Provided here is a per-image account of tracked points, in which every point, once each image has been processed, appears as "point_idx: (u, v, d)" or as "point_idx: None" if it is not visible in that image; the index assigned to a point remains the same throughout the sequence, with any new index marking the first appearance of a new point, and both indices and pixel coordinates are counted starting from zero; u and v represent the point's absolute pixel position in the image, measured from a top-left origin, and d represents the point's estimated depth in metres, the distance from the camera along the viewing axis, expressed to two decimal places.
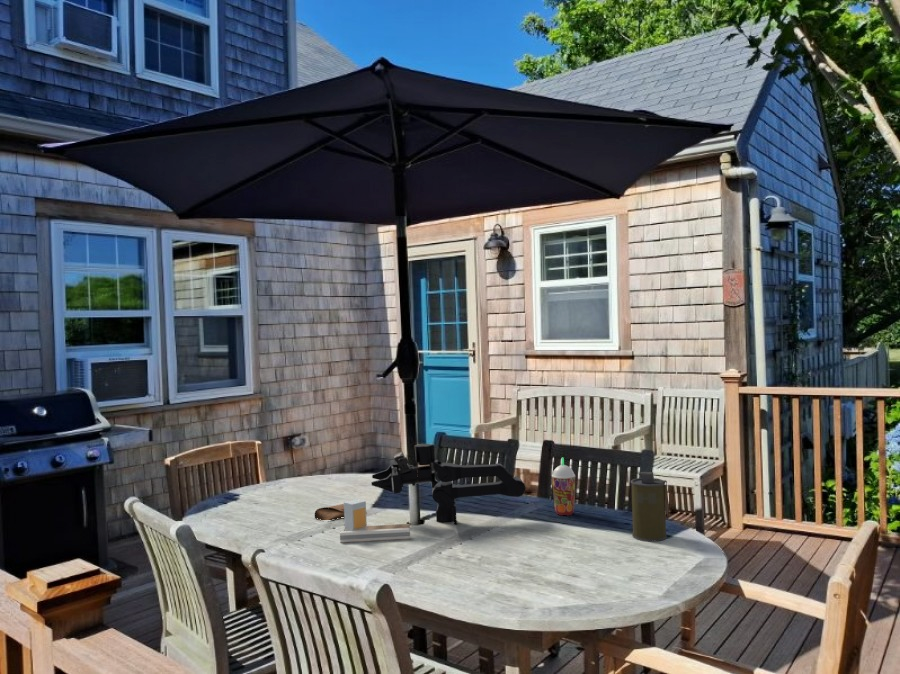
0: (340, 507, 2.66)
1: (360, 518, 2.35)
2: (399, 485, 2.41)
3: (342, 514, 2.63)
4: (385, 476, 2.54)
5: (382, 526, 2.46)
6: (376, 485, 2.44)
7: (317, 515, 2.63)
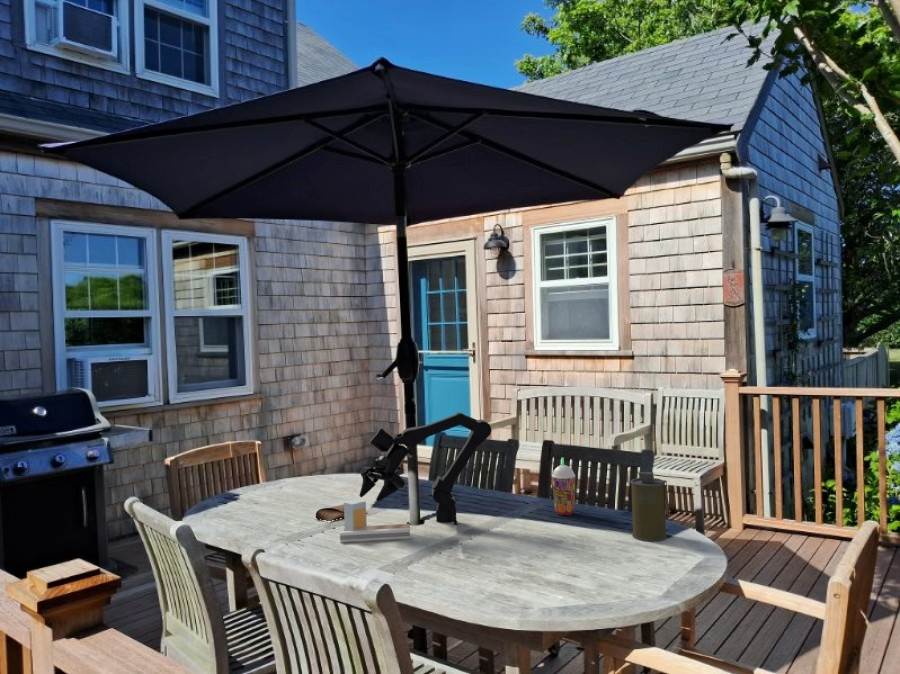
0: (341, 507, 2.65)
1: (360, 518, 2.35)
2: (401, 479, 2.38)
3: None
4: (368, 486, 2.47)
5: (382, 526, 2.46)
6: (382, 498, 2.38)
7: (318, 516, 2.62)
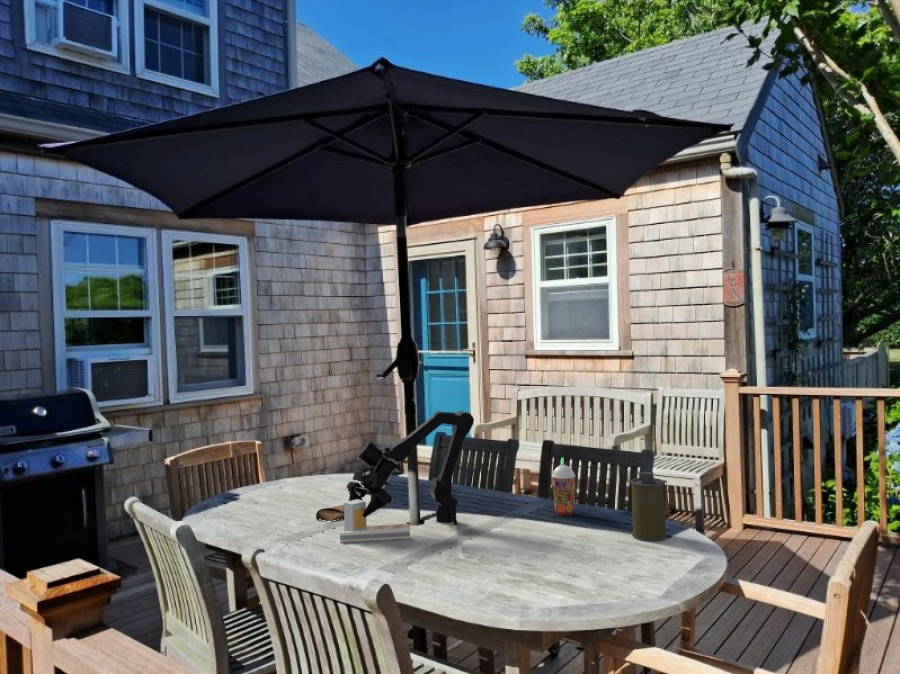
0: (341, 508, 2.65)
1: (360, 518, 2.35)
2: (388, 495, 2.35)
3: None
4: None
5: (382, 526, 2.46)
6: (368, 513, 2.34)
7: (318, 516, 2.61)
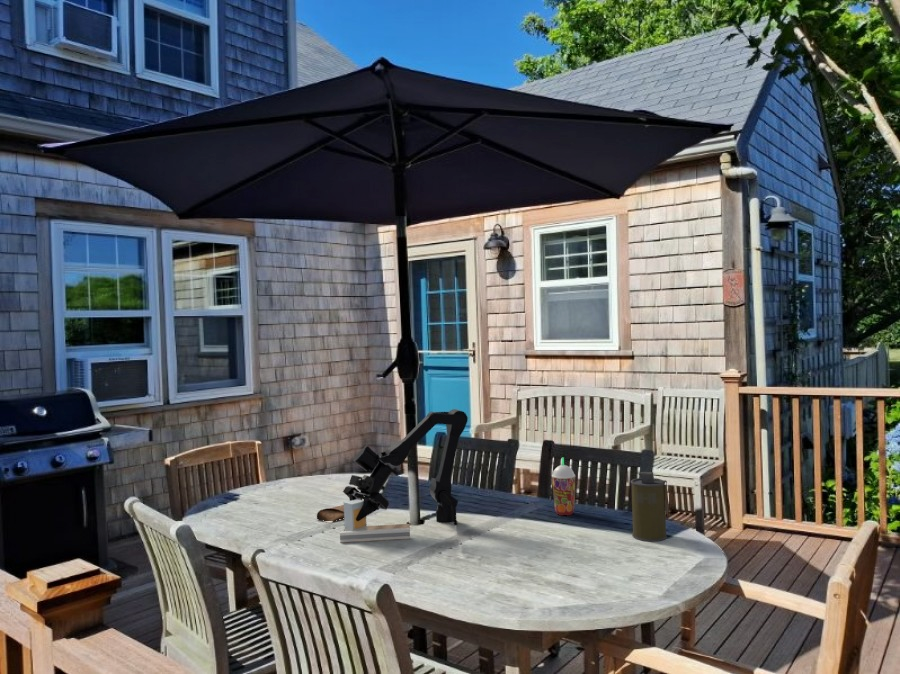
0: (342, 508, 2.65)
1: None
2: (385, 499, 2.33)
3: None
4: None
5: (382, 526, 2.46)
6: (361, 517, 2.34)
7: (319, 517, 2.61)
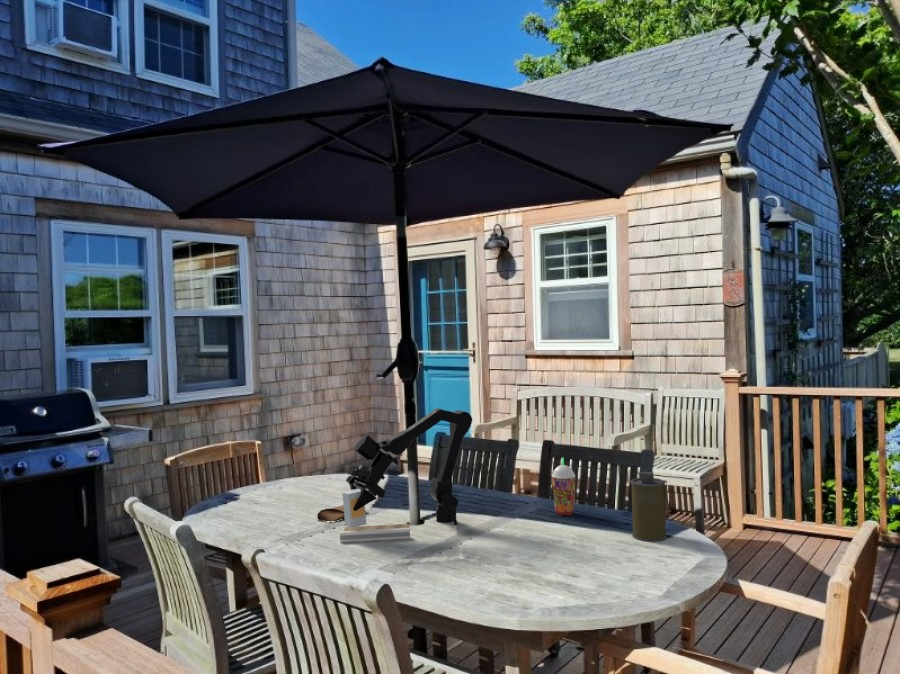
0: (343, 508, 2.65)
1: None
2: (380, 489, 2.32)
3: None
4: None
5: (382, 526, 2.46)
6: (359, 507, 2.34)
7: (320, 517, 2.60)
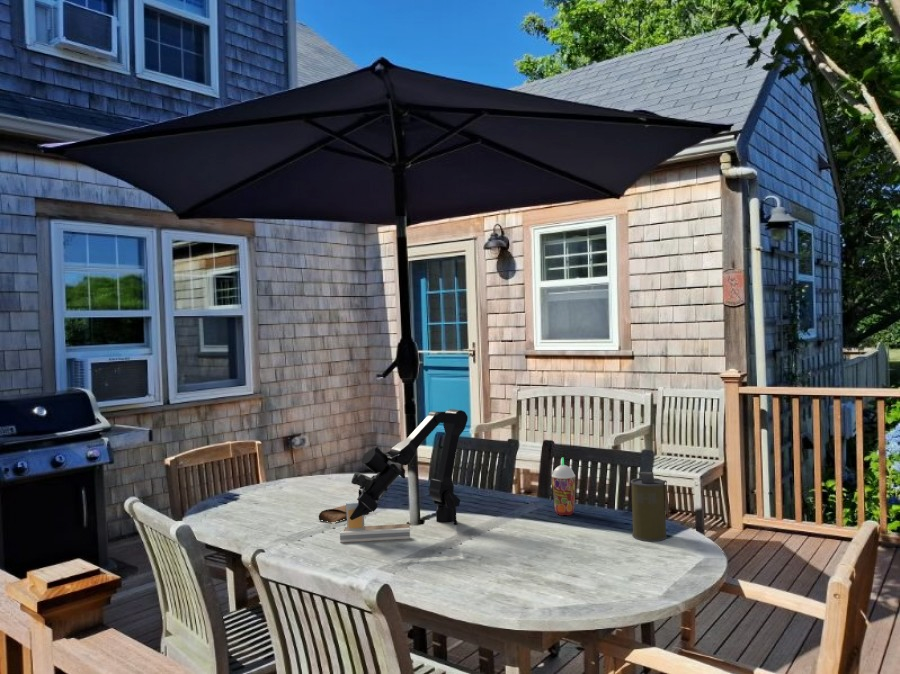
0: (344, 508, 2.64)
1: (355, 519, 2.34)
2: (371, 501, 2.28)
3: None
4: None
5: (382, 526, 2.46)
6: (355, 517, 2.32)
7: (321, 517, 2.60)
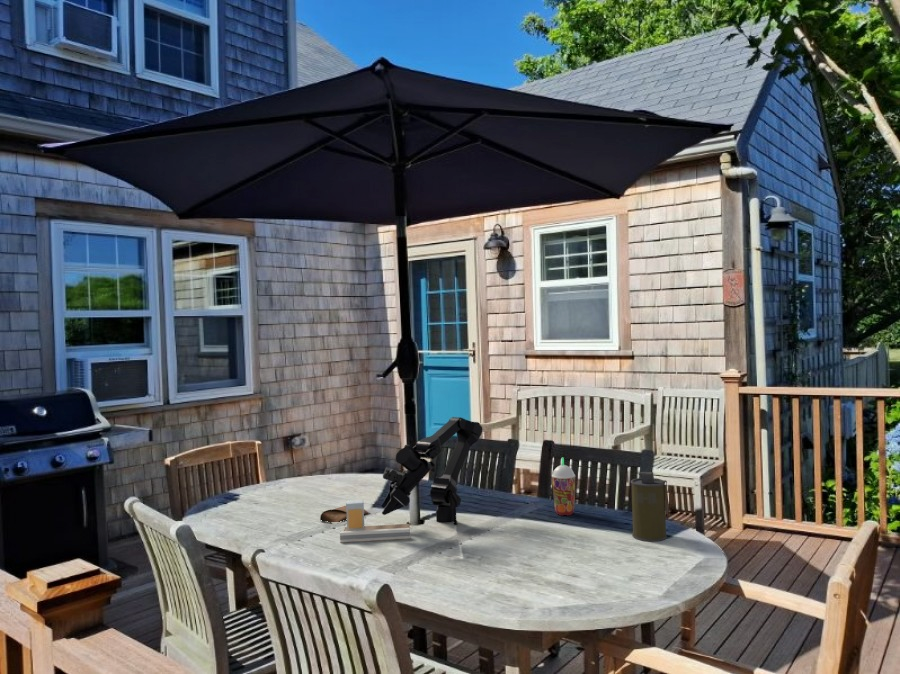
0: (345, 509, 2.64)
1: (355, 519, 2.34)
2: (403, 496, 2.30)
3: None
4: None
5: (382, 526, 2.46)
6: (387, 512, 2.34)
7: (323, 518, 2.59)
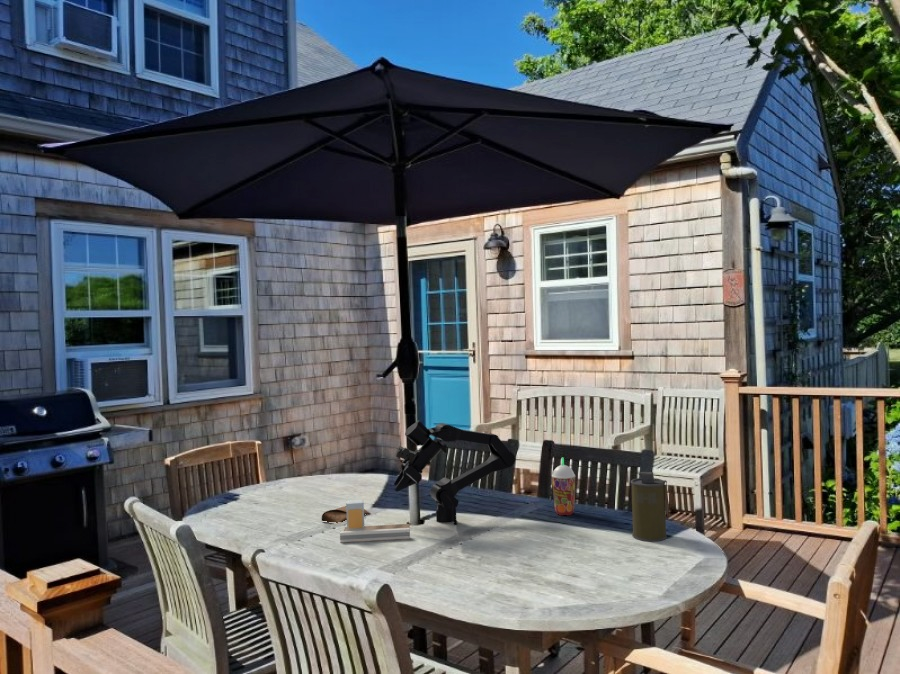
0: None
1: (355, 519, 2.34)
2: (416, 473, 2.39)
3: None
4: None
5: (382, 526, 2.46)
6: (400, 488, 2.43)
7: (324, 518, 2.58)
